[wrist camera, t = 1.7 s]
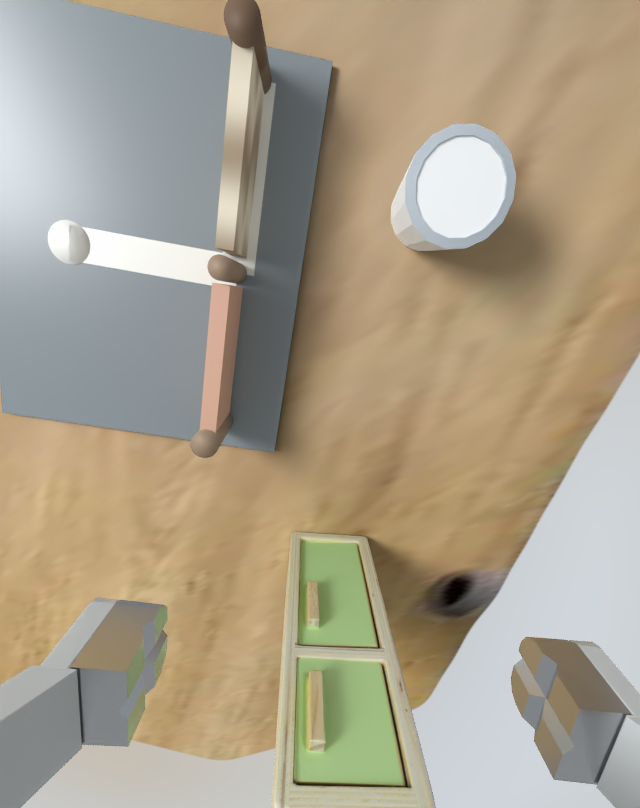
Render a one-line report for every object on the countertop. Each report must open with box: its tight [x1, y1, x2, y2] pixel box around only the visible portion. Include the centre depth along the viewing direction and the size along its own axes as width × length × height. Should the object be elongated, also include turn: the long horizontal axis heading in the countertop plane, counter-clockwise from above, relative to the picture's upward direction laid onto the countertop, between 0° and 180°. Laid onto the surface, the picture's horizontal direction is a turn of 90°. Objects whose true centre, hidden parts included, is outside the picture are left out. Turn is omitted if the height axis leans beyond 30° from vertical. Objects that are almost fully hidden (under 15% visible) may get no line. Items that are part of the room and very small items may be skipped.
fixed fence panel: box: [215, 0, 272, 259], centre depth 24 cm, size 13×2×6 cm, turn 170°
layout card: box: [0, 0, 333, 452], centre depth 29 cm, size 30×24×1 cm
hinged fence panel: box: [190, 254, 247, 458], centre depth 28 cm, size 14×2×6 cm, turn 170°
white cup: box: [391, 124, 516, 251], centre depth 25 cm, size 7×7×7 cm
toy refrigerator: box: [271, 532, 436, 808], centre depth 28 cm, size 8×7×21 cm
